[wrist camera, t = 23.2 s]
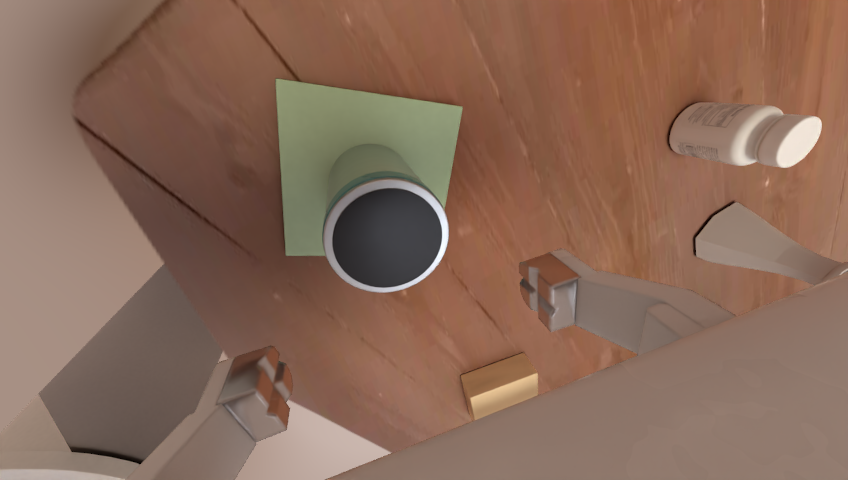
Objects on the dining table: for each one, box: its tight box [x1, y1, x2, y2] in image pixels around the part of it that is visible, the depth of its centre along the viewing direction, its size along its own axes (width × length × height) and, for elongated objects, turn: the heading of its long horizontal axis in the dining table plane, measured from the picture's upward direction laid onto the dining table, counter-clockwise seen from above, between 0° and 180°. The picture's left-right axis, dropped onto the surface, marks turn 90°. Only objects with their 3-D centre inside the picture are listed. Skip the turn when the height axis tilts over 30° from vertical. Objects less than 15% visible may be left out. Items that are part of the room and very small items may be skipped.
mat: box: [275, 78, 463, 256], centre depth 22 cm, size 12×12×1 cm
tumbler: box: [322, 144, 449, 293], centre depth 18 cm, size 9×6×6 cm
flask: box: [696, 202, 848, 285], centre depth 31 cm, size 7×7×10 cm
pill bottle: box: [669, 102, 822, 168], centre depth 24 cm, size 4×4×8 cm
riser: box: [461, 353, 538, 421], centre depth 36 cm, size 8×8×3 cm
